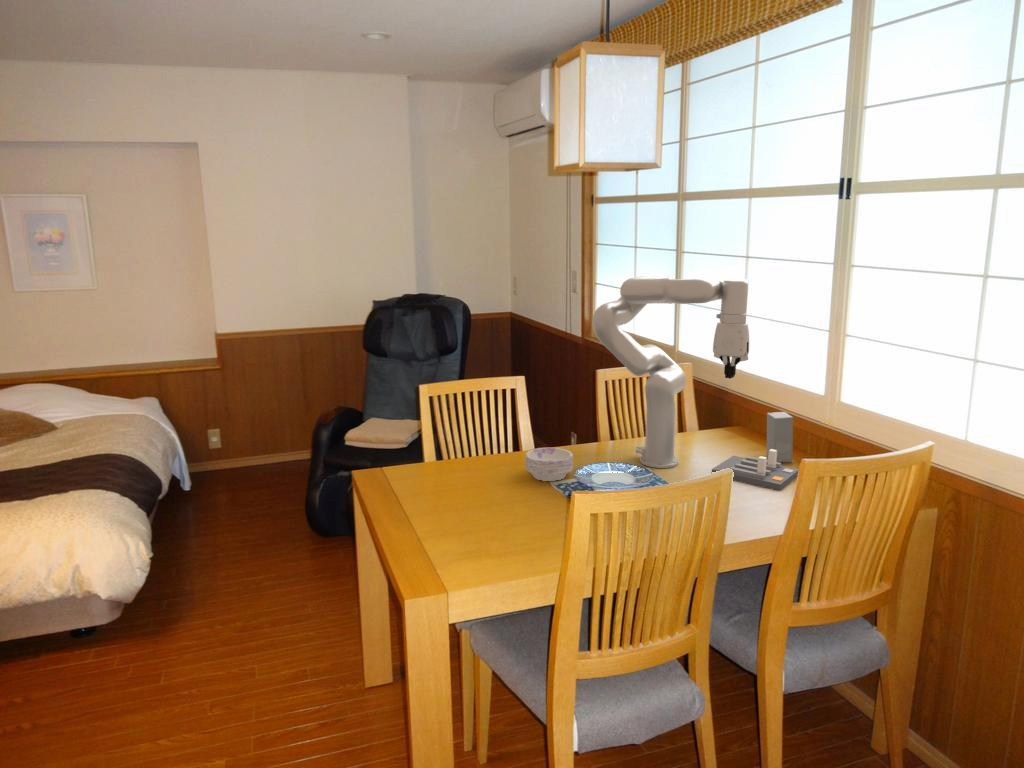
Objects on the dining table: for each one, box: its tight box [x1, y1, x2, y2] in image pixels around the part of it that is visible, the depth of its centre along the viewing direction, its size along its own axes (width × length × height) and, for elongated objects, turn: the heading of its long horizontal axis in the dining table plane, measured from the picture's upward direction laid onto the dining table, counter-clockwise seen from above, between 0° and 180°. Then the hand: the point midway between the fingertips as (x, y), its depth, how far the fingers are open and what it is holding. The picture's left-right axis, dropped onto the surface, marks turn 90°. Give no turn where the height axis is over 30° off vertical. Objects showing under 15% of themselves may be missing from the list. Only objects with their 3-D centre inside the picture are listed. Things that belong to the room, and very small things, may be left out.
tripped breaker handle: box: [757, 455, 768, 474], centre depth 230 cm, size 2×2×6 cm
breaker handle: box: [767, 449, 777, 466], centre depth 237 cm, size 2×2×6 cm
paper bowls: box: [524, 446, 574, 482], centre depth 236 cm, size 15×15×8 cm
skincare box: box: [765, 411, 794, 463], centre depth 250 cm, size 8×7×16 cm
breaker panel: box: [711, 455, 800, 492], centre depth 236 cm, size 22×17×3 cm
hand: (729, 377), depth 230 cm, fingers closed
